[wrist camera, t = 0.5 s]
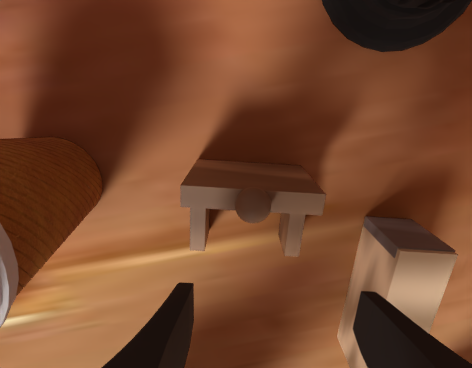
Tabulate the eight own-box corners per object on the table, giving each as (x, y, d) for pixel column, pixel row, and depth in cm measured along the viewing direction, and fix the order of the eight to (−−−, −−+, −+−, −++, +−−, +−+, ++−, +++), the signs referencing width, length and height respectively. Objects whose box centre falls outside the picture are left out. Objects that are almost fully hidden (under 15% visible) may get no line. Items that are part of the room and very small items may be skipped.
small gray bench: (290, 235, 21) (316, 305, 14) (196, 229, 21) (175, 297, 14) (301, 161, 19) (337, 199, 12) (197, 155, 19) (173, 189, 12)
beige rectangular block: (374, 337, 25) (406, 394, 20) (335, 334, 25) (358, 391, 20) (409, 217, 21) (459, 253, 16) (363, 214, 21) (400, 249, 16)
